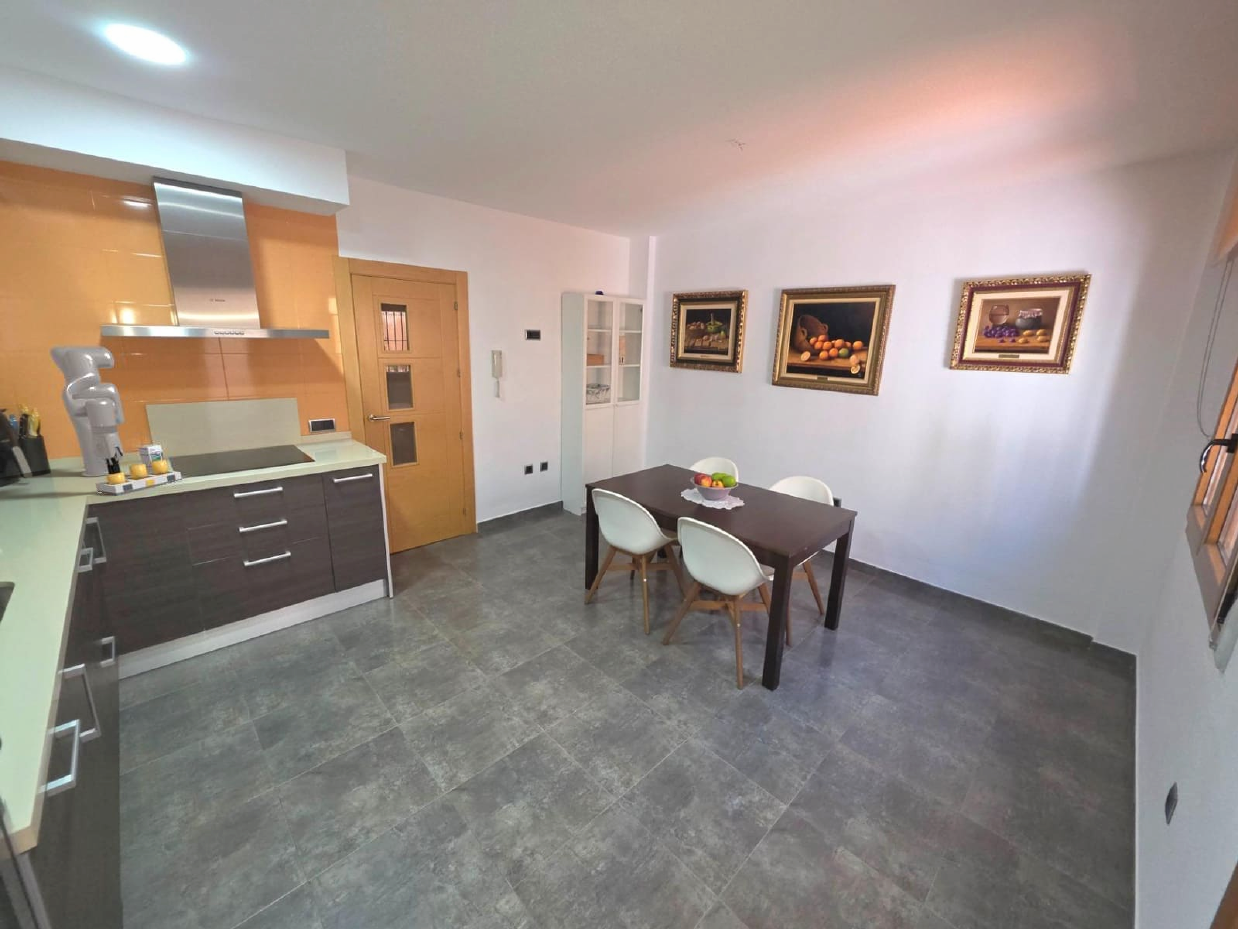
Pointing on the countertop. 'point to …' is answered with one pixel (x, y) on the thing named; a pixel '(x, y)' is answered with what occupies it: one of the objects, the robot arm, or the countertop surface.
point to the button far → (159, 467)
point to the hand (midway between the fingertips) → (115, 473)
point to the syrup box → (150, 455)
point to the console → (138, 483)
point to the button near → (116, 478)
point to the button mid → (138, 471)
